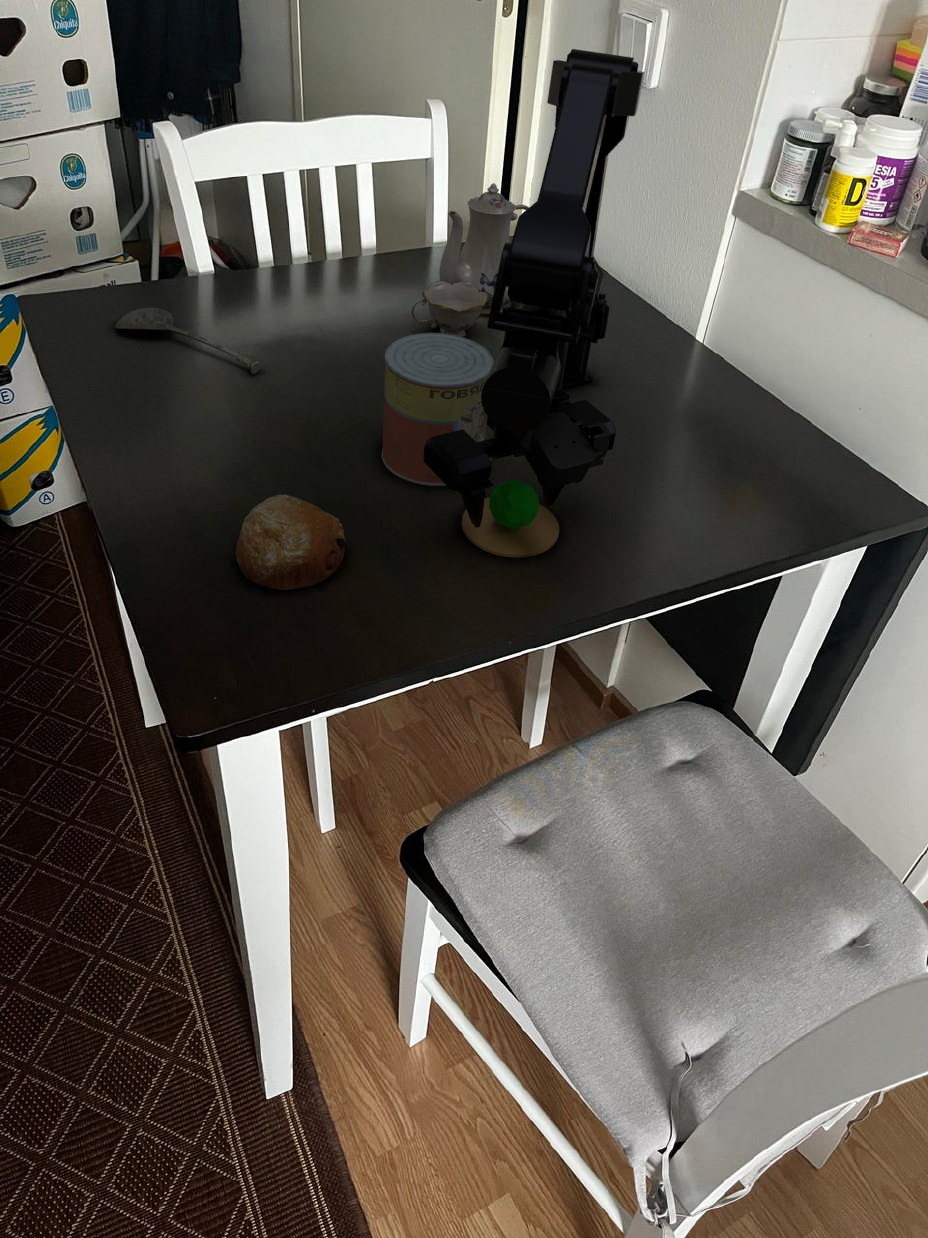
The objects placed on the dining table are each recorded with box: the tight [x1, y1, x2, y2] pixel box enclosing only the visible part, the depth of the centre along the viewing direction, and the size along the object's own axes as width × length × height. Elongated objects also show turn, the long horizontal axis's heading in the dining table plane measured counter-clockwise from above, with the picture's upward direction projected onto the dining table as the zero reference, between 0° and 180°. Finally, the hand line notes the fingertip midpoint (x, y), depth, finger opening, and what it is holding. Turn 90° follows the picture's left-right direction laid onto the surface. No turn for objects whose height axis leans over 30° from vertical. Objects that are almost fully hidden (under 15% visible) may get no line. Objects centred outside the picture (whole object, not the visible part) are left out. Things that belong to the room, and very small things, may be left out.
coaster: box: [461, 496, 560, 559], centre depth 101 cm, size 10×10×1 cm
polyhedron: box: [489, 478, 540, 530], centre depth 99 cm, size 5×5×5 cm
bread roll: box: [235, 493, 348, 591], centre depth 93 cm, size 10×10×8 cm
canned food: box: [381, 332, 495, 487], centre depth 105 cm, size 11×11×12 cm
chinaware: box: [411, 182, 530, 337], centre depth 133 cm, size 28×17×17 cm, turn 127°
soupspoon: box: [114, 307, 262, 375], centre depth 123 cm, size 22×3×7 cm
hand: (512, 514), depth 100 cm, fingers open, 8 cm apart
